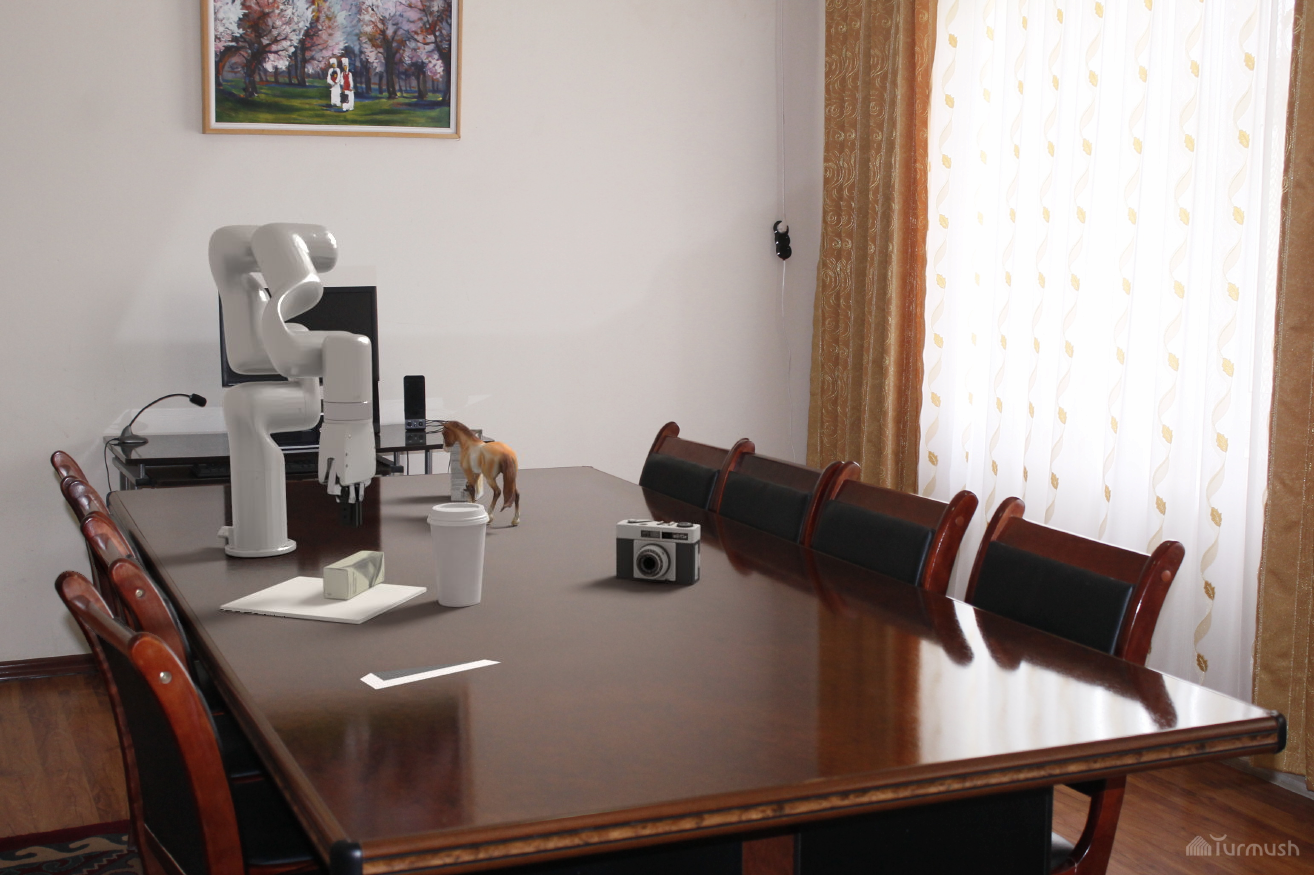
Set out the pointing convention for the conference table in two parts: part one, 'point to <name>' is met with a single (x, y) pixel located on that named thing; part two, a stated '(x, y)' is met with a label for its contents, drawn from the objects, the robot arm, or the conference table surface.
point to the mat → (323, 601)
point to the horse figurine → (484, 465)
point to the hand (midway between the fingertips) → (350, 525)
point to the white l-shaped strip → (419, 673)
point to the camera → (658, 551)
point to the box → (353, 575)
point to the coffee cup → (458, 551)
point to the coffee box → (462, 475)
